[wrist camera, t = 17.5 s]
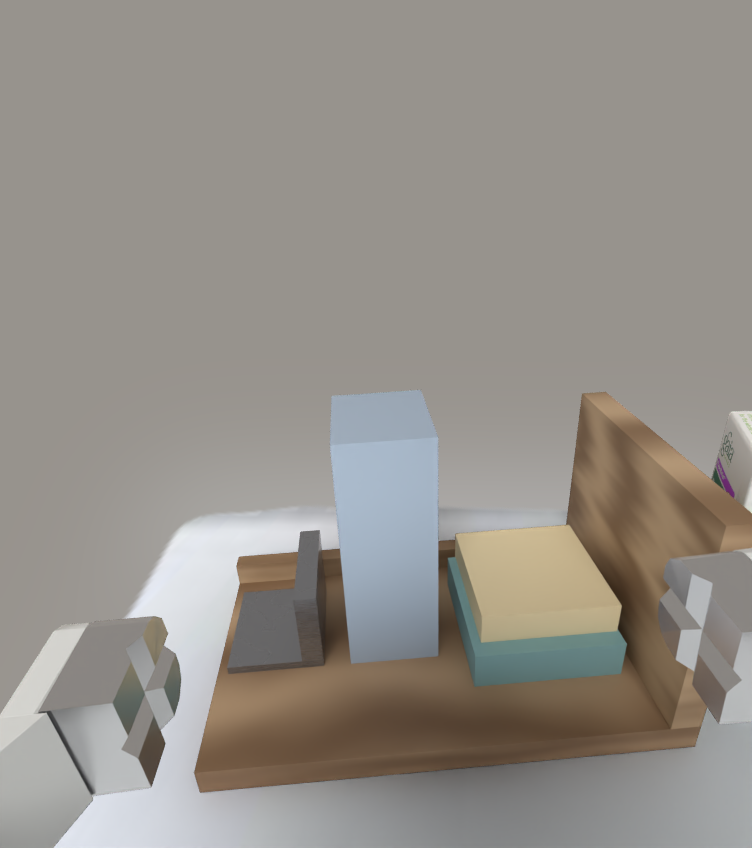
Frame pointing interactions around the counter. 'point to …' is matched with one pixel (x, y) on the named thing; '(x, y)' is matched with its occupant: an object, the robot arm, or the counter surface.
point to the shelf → (449, 671)
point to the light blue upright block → (387, 523)
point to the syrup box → (736, 458)
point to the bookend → (284, 619)
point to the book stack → (533, 607)
